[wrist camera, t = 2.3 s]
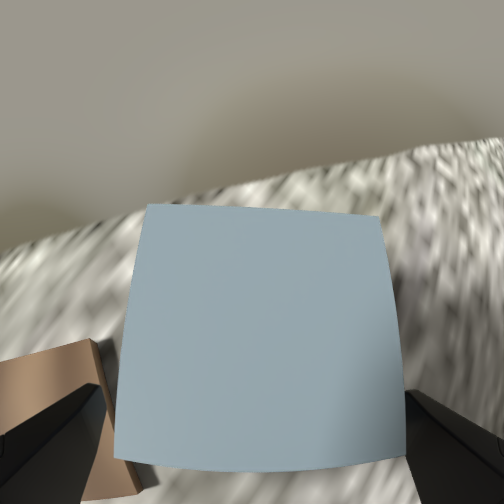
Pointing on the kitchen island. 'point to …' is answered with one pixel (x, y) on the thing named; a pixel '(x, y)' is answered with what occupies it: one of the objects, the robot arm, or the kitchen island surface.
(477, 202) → the kitchen island surface
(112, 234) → the kitchen island surface
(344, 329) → the slate-blue post
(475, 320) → the kitchen island surface
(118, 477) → the tan flat board
